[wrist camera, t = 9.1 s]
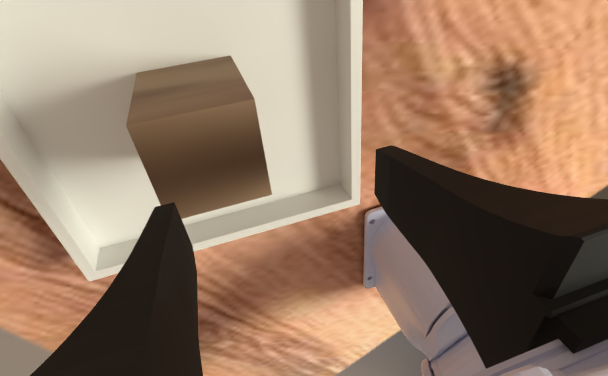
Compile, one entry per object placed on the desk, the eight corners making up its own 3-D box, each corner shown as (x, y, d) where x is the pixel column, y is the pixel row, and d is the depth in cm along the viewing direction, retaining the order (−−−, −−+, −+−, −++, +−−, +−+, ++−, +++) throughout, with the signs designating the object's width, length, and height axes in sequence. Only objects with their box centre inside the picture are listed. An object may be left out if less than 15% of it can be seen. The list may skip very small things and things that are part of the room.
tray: (345, 183, 25) (360, 204, 24) (95, 251, 22) (88, 281, 20) (339, -102, 16) (363, -107, 14) (-106, -58, 12) (-156, -56, 11)
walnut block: (247, 135, 20) (272, 194, 16) (167, 153, 19) (168, 222, 15) (230, 55, 17) (254, 98, 13) (136, 72, 17) (126, 125, 12)
